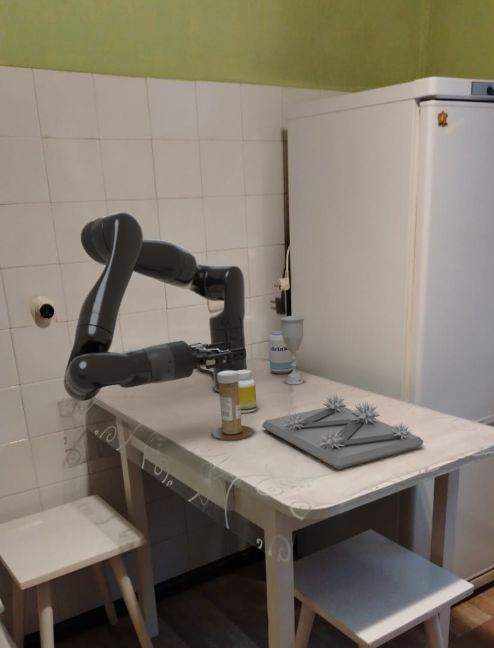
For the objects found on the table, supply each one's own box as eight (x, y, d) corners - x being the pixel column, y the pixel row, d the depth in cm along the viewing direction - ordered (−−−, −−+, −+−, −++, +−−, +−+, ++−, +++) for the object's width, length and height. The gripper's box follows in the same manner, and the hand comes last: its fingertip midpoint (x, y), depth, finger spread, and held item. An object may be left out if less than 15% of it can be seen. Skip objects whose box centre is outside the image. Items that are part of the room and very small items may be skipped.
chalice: (307, 384, 178) (305, 319, 172) (282, 385, 178) (279, 320, 172) (306, 378, 185) (304, 315, 179) (282, 379, 185) (279, 316, 179)
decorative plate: (260, 431, 143) (258, 400, 140) (339, 413, 152) (339, 384, 150) (336, 473, 118) (336, 436, 115) (426, 449, 127) (427, 414, 125)
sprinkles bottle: (246, 432, 141) (242, 372, 136) (228, 436, 139) (223, 376, 134) (235, 427, 145) (231, 368, 140) (218, 431, 142) (213, 372, 138)
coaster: (207, 431, 144) (207, 429, 144) (244, 424, 147) (244, 422, 147) (220, 443, 136) (220, 441, 136) (259, 435, 140) (259, 433, 140)
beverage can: (268, 374, 191) (266, 334, 187) (272, 369, 197) (270, 330, 193) (291, 374, 190) (290, 334, 186) (294, 369, 196) (293, 329, 192)
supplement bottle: (261, 409, 158) (259, 370, 155) (245, 414, 155) (243, 375, 151) (245, 405, 162) (243, 367, 158) (230, 411, 158) (227, 372, 155)
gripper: (179, 349, 121) (251, 336, 130) (148, 339, 133) (217, 328, 141) (183, 387, 124) (253, 372, 132) (153, 374, 135) (219, 361, 144)
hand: (234, 349), depth 137 cm, fingers open, 8 cm apart
